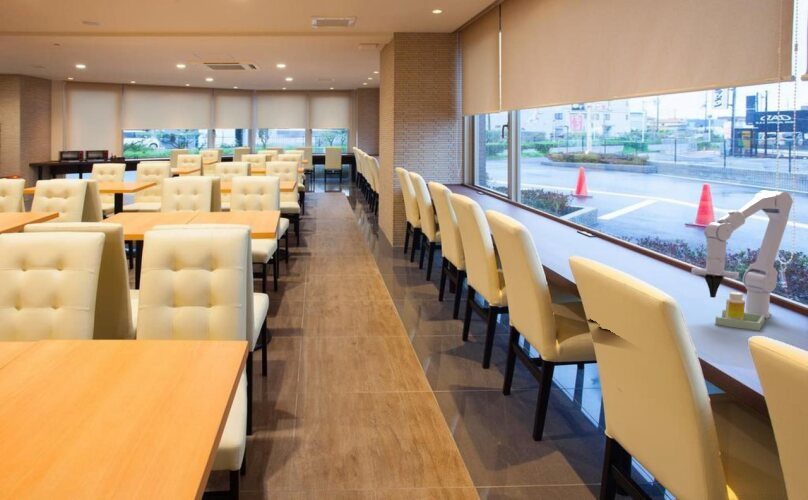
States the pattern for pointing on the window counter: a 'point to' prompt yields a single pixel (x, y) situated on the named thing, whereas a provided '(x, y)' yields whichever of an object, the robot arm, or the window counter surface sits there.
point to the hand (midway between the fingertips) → (712, 296)
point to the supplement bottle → (735, 306)
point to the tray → (742, 321)
